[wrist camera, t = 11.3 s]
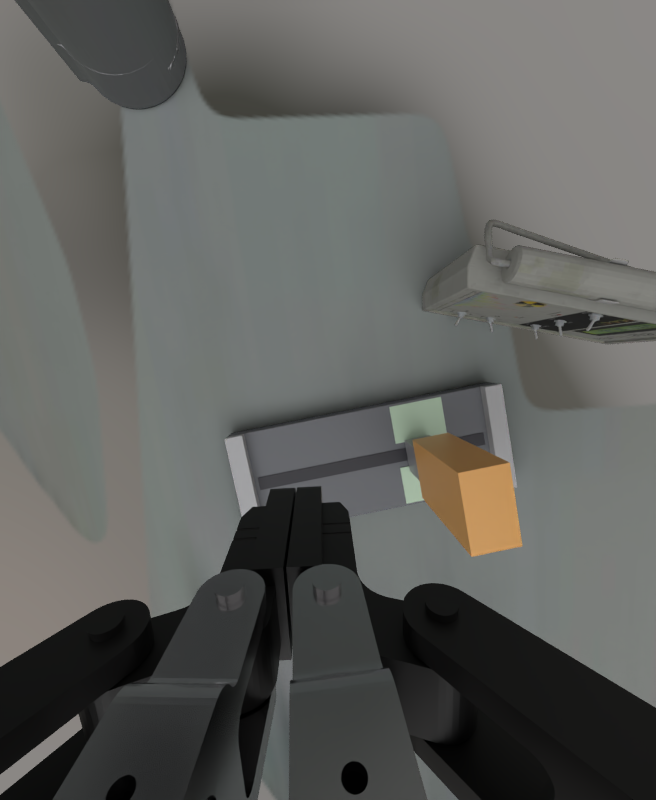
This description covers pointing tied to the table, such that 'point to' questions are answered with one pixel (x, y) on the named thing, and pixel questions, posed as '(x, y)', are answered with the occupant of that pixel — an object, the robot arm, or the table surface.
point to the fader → (467, 491)
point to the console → (364, 448)
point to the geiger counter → (547, 291)
